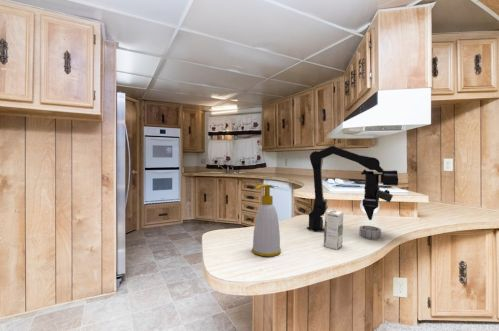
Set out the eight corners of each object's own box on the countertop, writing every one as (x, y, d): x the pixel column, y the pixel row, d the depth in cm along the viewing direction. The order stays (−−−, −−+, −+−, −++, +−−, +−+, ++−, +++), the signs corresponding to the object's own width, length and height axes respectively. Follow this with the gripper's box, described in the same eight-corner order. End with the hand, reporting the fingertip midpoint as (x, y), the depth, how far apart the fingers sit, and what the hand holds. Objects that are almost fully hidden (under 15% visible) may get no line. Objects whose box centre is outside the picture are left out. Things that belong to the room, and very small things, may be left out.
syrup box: (328, 242, 104) (329, 209, 104) (342, 246, 101) (343, 211, 100) (323, 246, 100) (324, 211, 99) (337, 250, 96) (338, 214, 95)
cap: (371, 239, 110) (371, 230, 109) (361, 235, 114) (361, 227, 114) (378, 237, 112) (378, 229, 112) (368, 234, 116) (369, 226, 116)
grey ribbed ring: (371, 240, 107) (372, 232, 107) (355, 234, 115) (355, 226, 115) (384, 238, 111) (385, 229, 111) (368, 232, 119) (368, 224, 119)
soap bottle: (245, 251, 94) (246, 184, 93) (265, 243, 102) (265, 182, 101) (267, 260, 86) (268, 187, 85) (286, 251, 94) (287, 184, 93)
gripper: (392, 188, 100) (391, 225, 100) (391, 183, 116) (390, 215, 117) (362, 186, 105) (361, 221, 106) (365, 182, 122) (364, 212, 122)
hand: (370, 217), depth 113 cm, fingers open, 8 cm apart
